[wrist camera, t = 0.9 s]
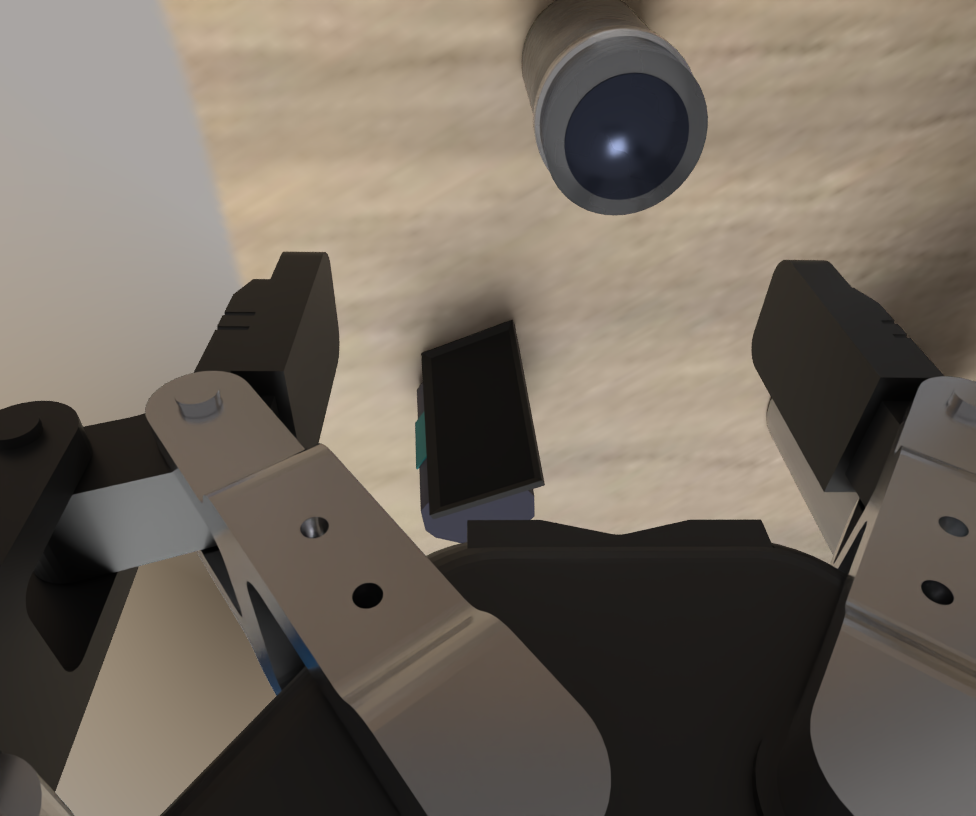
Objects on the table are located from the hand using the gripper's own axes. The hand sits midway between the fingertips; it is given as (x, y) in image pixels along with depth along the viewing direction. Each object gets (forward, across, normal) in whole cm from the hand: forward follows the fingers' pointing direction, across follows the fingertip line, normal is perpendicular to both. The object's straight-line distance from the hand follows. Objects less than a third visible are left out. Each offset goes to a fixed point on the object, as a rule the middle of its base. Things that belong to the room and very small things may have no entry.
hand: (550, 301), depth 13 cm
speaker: (+20, 0, +17) cm, 27 cm away
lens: (+20, -3, 0) cm, 20 cm away
